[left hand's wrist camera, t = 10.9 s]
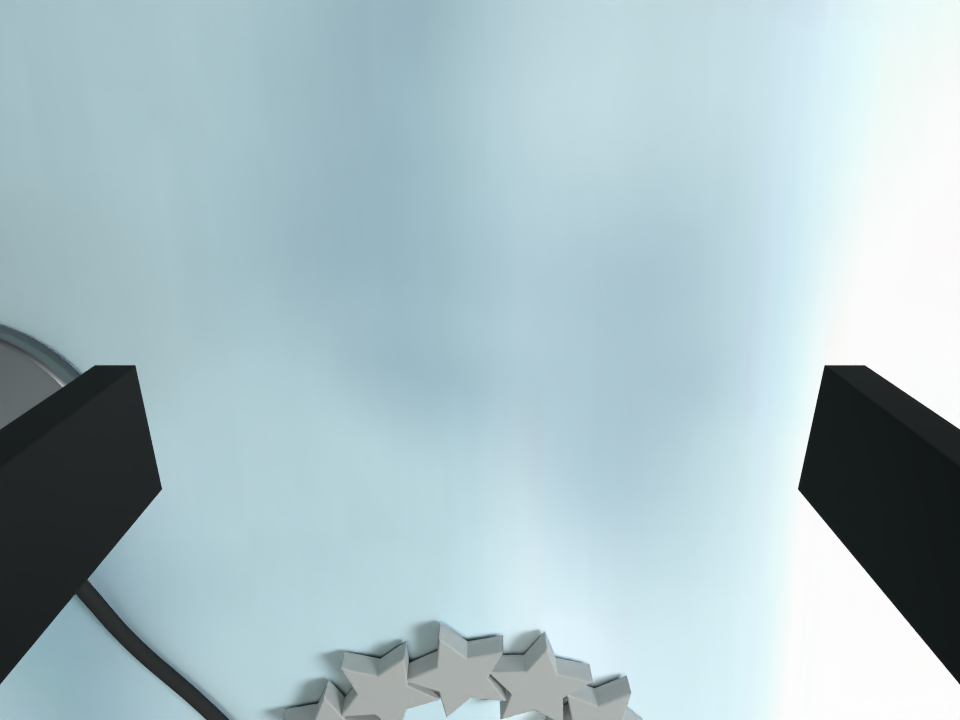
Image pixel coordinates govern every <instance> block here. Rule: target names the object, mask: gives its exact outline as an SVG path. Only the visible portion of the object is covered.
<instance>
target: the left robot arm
mask: <svg viewBox="0 0 960 720" xmlns="http://www.w3.org/2000/svg"><path fill="white" fill-rule="evenodd" d="M161 490H162V487H161V482H160V478H159V473H158V468H157V464H156V459H155V454H154V450H153V445H152V441H151V436H150V431H149V427H148V422H147V417H146V413H145V408H144V403H143V399H142V394H141V390H140V385H139V380H138V376H137V371H136V366H135V365H95V366H93V367H92V368H91V369H89V370H88V371H86V372H85V373H83V374H82V375H80V376H79V377H77V378H76V379H74V380H73V381H71V382H70V383H68V384H67V385H65V386H64V387H62V388H61V389H59V390H58V391H56V392H55V393H53V394H52V395H51V396H49V397H48V398H46V399H45V400H43V401H42V402H40V403H39V404H37V405H36V406H34V407H33V408H31V409H30V410H28V411H27V412H25V413H24V414H22V415H21V416H19V417H18V418H16V419H15V420H13V421H12V422H11V423H9V424H8V425H6V426H5V427H3V428H2V429H0V684H1V683H2V681H3V680H4V679H5V678H6V677H7V675H8V674H9V673H10V672H11V671H12V669H13V668H14V667H15V666H16V665H17V663H18V662H19V661H20V660H21V659H22V657H23V656H24V655H25V654H26V653H27V651H28V650H29V649H30V648H31V646H32V645H33V644H34V643H35V642H36V640H37V639H38V638H39V637H40V636H41V634H42V633H43V632H44V631H45V630H46V628H47V627H48V626H49V625H50V624H51V622H52V621H53V620H54V619H55V618H56V616H57V615H58V614H59V613H60V612H61V610H62V609H63V608H64V607H65V605H66V604H67V603H68V602H69V601H70V599H71V598H72V597H73V596H74V595H75V593H76V592H77V591H78V590H79V589H80V587H81V586H82V585H83V584H84V583H85V581H86V580H87V579H88V578H89V577H90V575H91V574H92V573H93V572H94V571H95V569H96V568H97V567H98V566H99V564H100V563H101V562H102V561H103V560H104V558H105V557H106V556H107V555H108V554H109V552H110V551H111V550H112V549H113V548H114V546H115V545H116V544H117V543H118V542H119V540H120V539H121V538H122V537H123V536H124V534H125V533H126V532H127V531H128V530H129V528H130V527H131V526H132V525H133V523H134V522H135V521H136V520H137V519H138V517H139V516H140V515H141V514H142V513H143V511H144V510H145V509H146V508H147V507H148V505H149V504H150V503H151V502H152V501H153V499H154V498H155V497H156V496H157V495H158V493H159V492H160V491H161ZM798 490H799V491H800V492H801V493H802V495H803V496H804V497H805V498H806V499H807V501H808V502H809V503H810V504H811V505H812V507H813V508H814V509H815V510H816V511H817V513H818V514H819V515H820V516H821V517H822V519H823V520H824V521H825V522H826V523H827V525H828V526H829V527H830V528H831V530H832V531H833V532H834V533H835V534H836V536H837V537H838V538H839V539H840V540H841V542H842V543H843V544H844V545H845V546H846V548H847V549H848V550H849V551H850V552H851V554H852V555H853V556H854V557H855V558H856V560H857V561H858V562H859V563H860V564H861V566H862V567H863V568H864V569H865V571H866V572H867V573H868V574H869V575H870V577H871V578H872V579H873V580H874V581H875V583H876V584H877V585H878V586H879V587H880V589H881V590H882V591H883V592H884V593H885V595H886V596H887V597H888V598H889V599H890V601H891V602H892V603H893V604H894V605H895V607H896V608H897V609H898V610H899V612H900V613H901V614H902V615H903V616H904V618H905V619H906V620H907V621H908V622H909V624H910V625H911V626H912V627H913V628H914V630H915V631H916V632H917V633H918V634H919V636H920V637H921V638H922V639H923V640H924V642H925V643H926V644H927V645H928V646H929V648H930V649H931V650H932V651H933V653H934V654H935V655H936V656H937V657H938V659H939V660H940V661H941V662H942V663H943V665H944V666H945V667H946V668H947V669H948V671H949V672H950V673H951V674H952V675H953V677H954V678H955V679H956V680H957V681H958V683H959V684H960V429H958V428H957V427H955V426H954V425H952V424H951V423H949V422H948V421H947V420H945V419H944V418H942V417H941V416H939V415H938V414H936V413H935V412H933V411H932V410H930V409H929V408H927V407H926V406H924V405H923V404H921V403H920V402H918V401H917V400H915V399H914V398H912V397H911V396H909V395H908V394H907V393H905V392H904V391H902V390H901V389H899V388H898V387H896V386H895V385H893V384H892V383H890V382H889V381H887V380H886V379H884V378H883V377H881V376H880V375H878V374H877V373H875V372H874V371H872V370H871V369H869V368H868V367H866V366H865V365H825V366H824V371H823V376H822V380H821V385H820V390H819V394H818V399H817V403H816V408H815V413H814V417H813V422H812V427H811V431H810V436H809V441H808V445H807V450H806V454H805V459H804V464H803V468H802V473H801V478H800V482H799V487H798Z"/></svg>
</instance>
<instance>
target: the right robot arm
mask: <svg viewBox="0 0 960 720" xmlns="http://www.w3.org/2000/svg"><path fill="white" fill-rule="evenodd" d="M79 376H80V374H79V373H78V372H77V371H76V370H75V369H74V368H73V367H72V366H71V365H70V364H69V363H67V362H66V361H65V360H64V359H63V358H61V357H60V356H59V355H58V354H56V353H55V352H53V351H52V350H50V349H49V348H48V347H46V346H44V345H43V344H41V343H39V342H38V341H36V340H34V339H32V338H30V337H28V336H26V335H24V334H22V333H20V332H18V331H15V330H13V329H10V328H8V327H5V326H1V325H0V429H2V428H3V427H5V426H6V425H8V424H9V423H11V422H12V421H13V420H15V419H16V418H18V417H19V416H21V415H22V414H24V413H25V412H27V411H28V410H30V409H31V408H33V407H34V406H36V405H37V404H39V403H40V402H42V401H43V400H45V399H46V398H48V397H49V396H51V395H52V394H53V393H55V392H56V391H58V390H59V389H61V388H62V387H64V386H65V385H67V384H68V383H70V382H71V381H73V380H74V379H76V378H77V377H79ZM76 595H77V596H78V597H79V598H80V599H81V600H82V601H83V602H84V604H85V605H86V606H87V607H88V608H89V609H90V610H91V612H92V613H93V614H94V615H95V616H96V617H97V618H98V620H99V621H100V622H101V623H102V624H103V625H104V626H105V628H106V629H107V630H108V631H109V632H110V633H111V634H112V635H113V636H114V637H115V638H116V639H117V640H118V641H119V642H120V643H121V644H122V645H123V646H124V647H125V648H126V649H127V650H128V651H129V652H130V653H131V654H132V655H133V656H134V657H135V658H136V659H137V660H138V661H140V662H141V663H142V664H143V665H144V666H145V667H146V668H148V669H149V670H150V671H151V672H152V673H153V674H155V675H156V676H157V677H158V678H159V679H160V680H162V681H163V682H164V683H165V684H166V685H168V686H169V687H170V688H171V689H172V690H174V691H175V692H176V693H177V694H178V695H180V696H181V697H182V698H183V699H184V700H185V701H186V702H188V703H189V704H190V705H191V706H192V707H193V708H194V709H195V710H196V711H198V712H199V713H200V714H201V715H202V716H203V717H204V718H205V719H206V720H229V719H228V718H227V717H226V716H225V715H224V714H223V713H222V712H221V711H220V710H219V709H217V708H216V707H215V706H214V705H213V704H212V703H211V702H210V701H209V700H208V699H207V698H206V697H205V696H204V695H203V694H201V693H200V692H199V691H198V690H197V689H196V688H195V687H194V686H193V685H191V684H190V683H189V682H188V681H187V680H186V679H184V678H183V677H182V676H181V675H180V674H179V673H177V672H176V671H175V670H174V669H173V668H171V667H170V666H169V665H168V664H167V663H166V662H164V661H163V660H162V659H161V658H160V657H159V656H158V655H156V654H155V653H154V652H153V651H152V650H151V649H150V648H149V647H148V646H147V645H146V644H144V643H143V642H142V641H141V640H140V639H139V638H138V637H137V636H136V635H135V634H134V633H133V632H132V631H131V630H130V629H129V628H128V626H127V625H126V624H125V623H124V622H123V621H122V620H121V619H120V618H119V616H118V615H117V614H116V613H115V612H114V611H113V609H112V608H111V607H110V606H109V605H108V603H107V602H106V601H105V600H104V599H103V598H102V596H101V595H100V594H99V593H98V592H97V591H96V589H95V588H94V587H93V586H92V585H91V584H90V583H89V581H88V580H86V581H85V583H84V584H83V585H82V586H81V587H80V589H79V590H78V591H77V592H76Z"/></svg>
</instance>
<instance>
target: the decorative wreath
mask: <svg viewBox="0 0 960 720" xmlns="http://www.w3.org/2000/svg"><path fill="white" fill-rule="evenodd" d="M503 652H504V647H503V635H502V636H496V637H490V638H485V639H479V640H473V641H466V640H465V639H463V638H462V637H460V636H459V635H458V634H456V633H455V632H453V631H452V630H451V629H449V628H448V627H446V626H445V625H443V624H442V623H441V622H440V631H439V641H438V650H437V651H435V652H433V653H431V654H428V655H426V656H424V657H421V658H419V659H417V660H415V661H412V662H410V663H409V657H408V649H407V641H406V642H404V643H403V644H401V645H400V646H398V647H397V648H395V649H394V650H392V651H391V652H389V653H388V654H386V655H385V656H383V657H382V658H381V659H379V658H374V657H369V656H364V655H359V654H354V653H349V652H345V653H344V657H343V661H342V665H341V670H342V671H343V673H344V674H345V676H346V677H347V679H348V680H349V682H350V684H351V685H352V689H351V690H350V691H349V693H348V694H347V695H346V697H344V696H343V695H342V693H341V692H340V691H339V690H338V689H337V688H336V687H335V686H334V685H333V684H332V682H331V681H330V680H328V682H327V684H326V687H325V689H324V692H323V694H322V696H321V699H320V701H319V703H318V704H312V705H306V706H300V707H294V708H288V709H285V712H284V715H283V718H282V720H381V719H382V720H403V718H404V715H405V711H406V709H408V708H412V707H415V706H419V705H422V704H426V703H429V702H433V701H436V700H439V697H441V700H442V703H443V707H444V710H445V713H446V717H448V716H449V715H450V714H452V713H453V712H454V711H455V710H456V709H457V708H459V707H460V706H461V705H462V704H463V703H465V702H466V701H467V700H468V699H469V698H478V699H489V700H500V718H501V719H504V718H507V717H511V716H514V715H518V714H521V713H525V712H529V711H532V710H536V711H538V712H540V713H542V714H544V715H545V716H547V717H548V718H547V719H546V720H642V718H641V717H639V716H638V715H637V714H635V713H634V712H633V711H631V710H630V709H629V708H627V705H628V701H629V698H630V695H631V690H630V687H629V683H628V679H627V676H624V677H621V678H619V679H617V680H614V681H612V682H609V683H607V684H604V685H602V686H599V687H597V688H592V687H589V686H587V685H588V684H589V683H591V682H593V679H592V674H591V669H590V665H589V664H584V663H579V662H574V661H570V660H565V659H560V658H556V657H555V655H554V652H553V650H552V648H551V645H550V643H549V640H548V638H547V636H546V633H545V632H544V633H543V634H542V635H541V636H540V637H539V638H538V640H537V641H536V642H535V643H534V644H533V645H532V646H531V647H530V649H529V650H528V651H527V652H526V653H525V654H524V655H502V654H503ZM566 696H567V699H568V704H566V705H565V706H564V707H563V698H564V697H566Z"/></svg>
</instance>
